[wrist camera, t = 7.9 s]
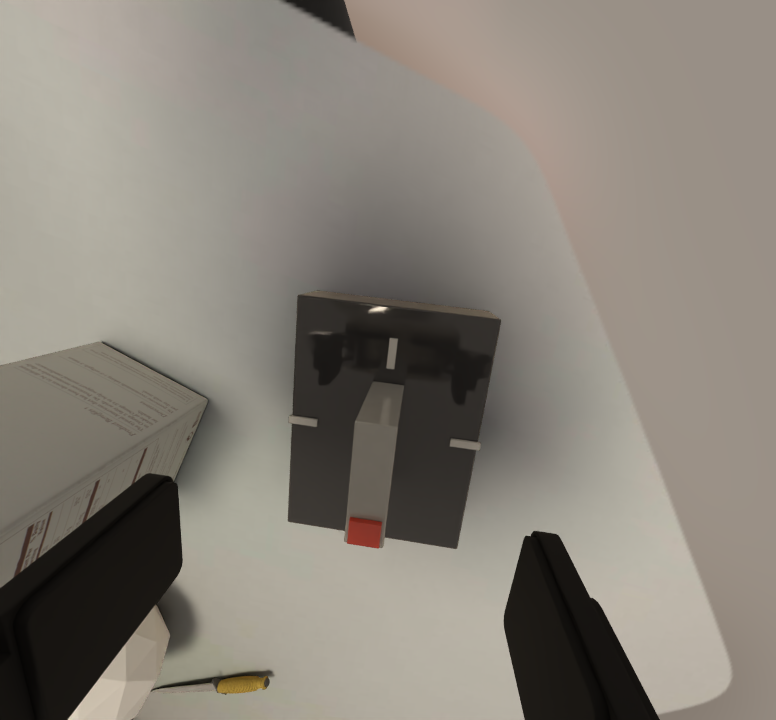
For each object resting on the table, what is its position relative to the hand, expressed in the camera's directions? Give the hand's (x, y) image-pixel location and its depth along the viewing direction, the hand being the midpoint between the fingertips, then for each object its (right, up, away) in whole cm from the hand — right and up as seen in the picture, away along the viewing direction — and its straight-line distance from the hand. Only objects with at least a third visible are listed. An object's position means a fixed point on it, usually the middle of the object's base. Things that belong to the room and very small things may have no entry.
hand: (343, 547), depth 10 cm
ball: (-17, -13, +16) cm, 27 cm away
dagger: (-12, -19, +18) cm, 29 cm away
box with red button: (+1, +2, +8) cm, 8 cm away
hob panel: (+1, +2, +11) cm, 11 cm away
